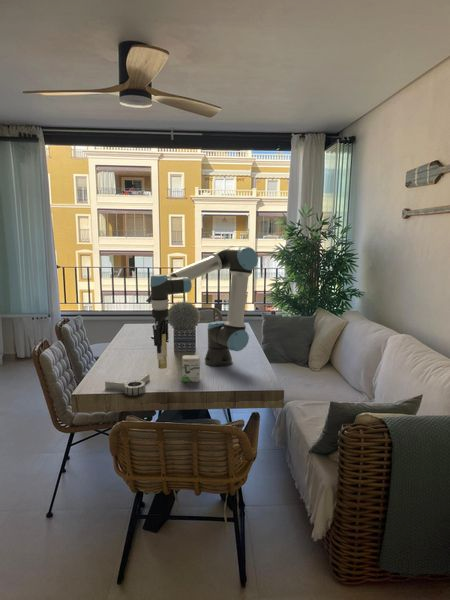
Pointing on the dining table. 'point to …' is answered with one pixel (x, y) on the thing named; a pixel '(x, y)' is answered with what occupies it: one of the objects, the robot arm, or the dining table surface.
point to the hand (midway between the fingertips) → (162, 357)
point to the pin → (163, 363)
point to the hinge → (129, 386)
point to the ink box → (190, 368)
